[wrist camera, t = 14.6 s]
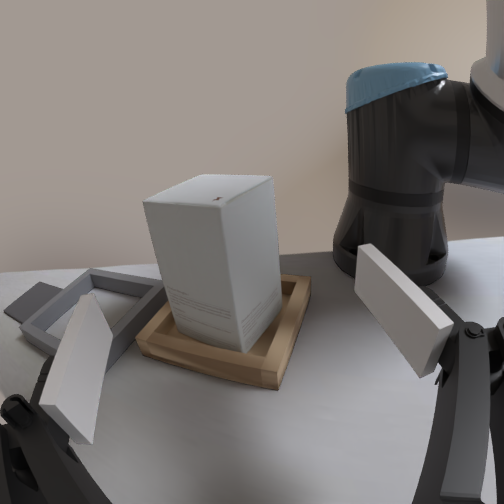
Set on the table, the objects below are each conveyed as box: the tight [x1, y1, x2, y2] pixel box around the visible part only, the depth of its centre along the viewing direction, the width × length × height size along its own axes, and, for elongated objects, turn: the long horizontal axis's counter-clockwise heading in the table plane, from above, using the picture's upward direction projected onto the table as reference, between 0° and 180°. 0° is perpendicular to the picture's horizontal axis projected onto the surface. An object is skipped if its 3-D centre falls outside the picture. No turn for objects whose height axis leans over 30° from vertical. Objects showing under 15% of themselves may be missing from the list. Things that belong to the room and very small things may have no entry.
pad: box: [4, 282, 63, 324], centre depth 33 cm, size 8×8×1 cm
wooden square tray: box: [135, 274, 311, 390], centre depth 27 cm, size 12×12×2 cm
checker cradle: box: [19, 268, 168, 373], centre depth 29 cm, size 13×14×2 cm
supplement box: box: [143, 174, 282, 353], centre depth 25 cm, size 7×7×13 cm
